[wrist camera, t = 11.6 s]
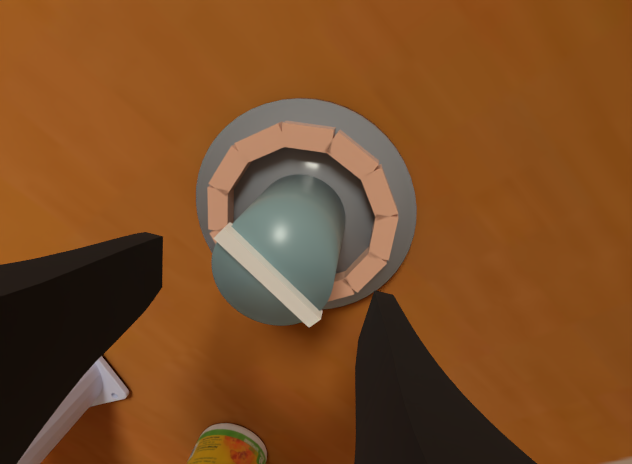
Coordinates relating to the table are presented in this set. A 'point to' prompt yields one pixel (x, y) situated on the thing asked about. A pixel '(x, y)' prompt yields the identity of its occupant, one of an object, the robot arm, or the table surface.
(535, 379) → the table surface
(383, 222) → the socket
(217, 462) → the supplement bottle
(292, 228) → the cylinder with tan strip
